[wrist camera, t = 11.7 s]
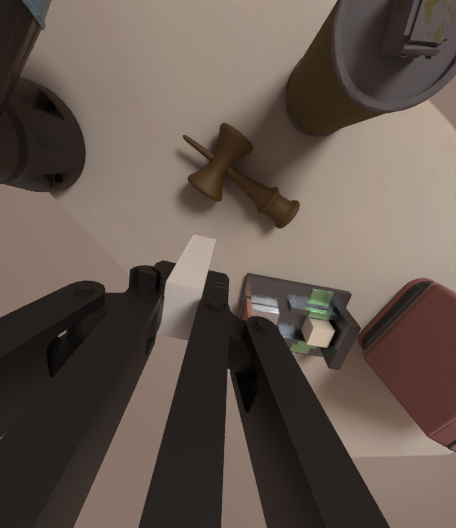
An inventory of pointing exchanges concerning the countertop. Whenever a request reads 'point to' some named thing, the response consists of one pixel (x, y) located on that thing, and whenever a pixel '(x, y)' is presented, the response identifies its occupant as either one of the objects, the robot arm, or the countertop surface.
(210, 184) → the kendama
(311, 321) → the cream cube block
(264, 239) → the countertop surface
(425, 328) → the toaster
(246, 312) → the two-tone wooden block
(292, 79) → the canister
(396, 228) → the countertop surface
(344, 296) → the grey slider puzzle board
